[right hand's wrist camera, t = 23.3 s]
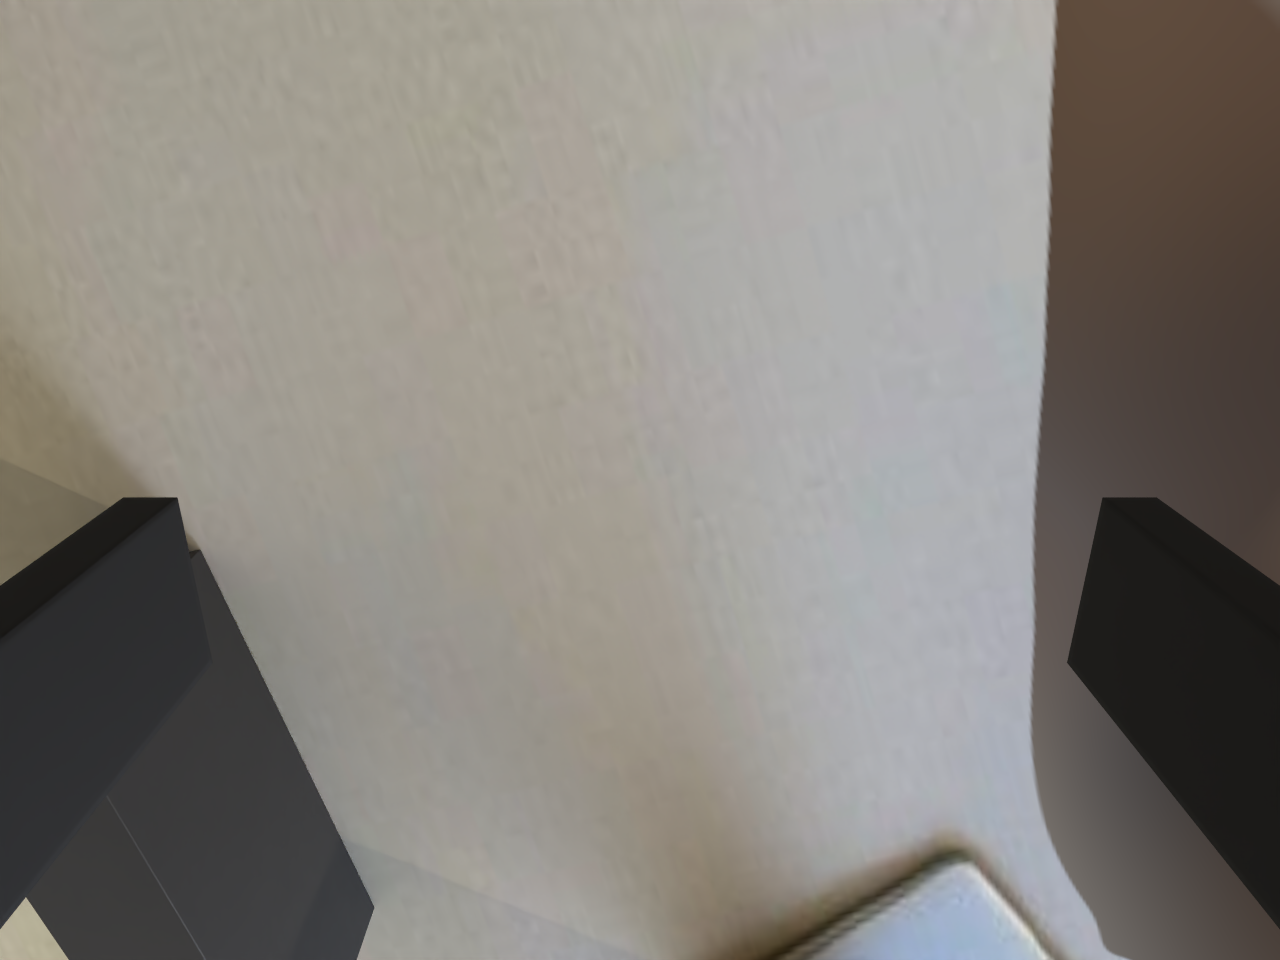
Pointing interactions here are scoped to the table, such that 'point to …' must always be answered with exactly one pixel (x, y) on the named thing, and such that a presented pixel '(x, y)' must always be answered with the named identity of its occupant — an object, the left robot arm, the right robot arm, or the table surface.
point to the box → (210, 836)
